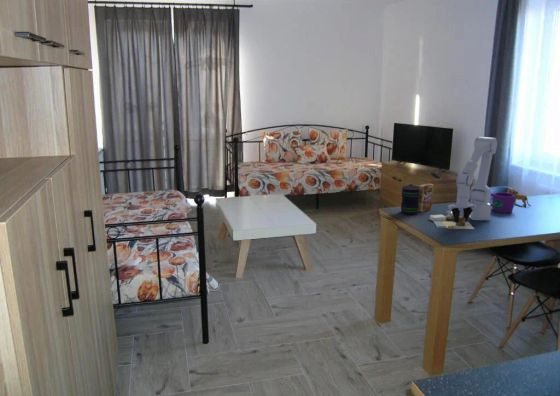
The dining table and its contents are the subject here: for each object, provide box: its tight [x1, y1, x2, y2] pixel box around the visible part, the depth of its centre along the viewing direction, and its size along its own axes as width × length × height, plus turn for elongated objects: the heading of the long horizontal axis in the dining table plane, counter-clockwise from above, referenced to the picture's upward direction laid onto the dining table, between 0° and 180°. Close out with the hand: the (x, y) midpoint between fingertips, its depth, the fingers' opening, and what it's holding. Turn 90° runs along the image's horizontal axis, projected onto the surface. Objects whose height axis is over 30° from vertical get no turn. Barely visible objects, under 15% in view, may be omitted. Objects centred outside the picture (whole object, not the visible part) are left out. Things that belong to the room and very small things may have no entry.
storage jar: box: [400, 185, 420, 217], centre depth 264 cm, size 10×10×15 cm
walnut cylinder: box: [456, 215, 466, 226], centre depth 242 cm, size 4×4×4 cm
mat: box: [432, 220, 475, 230], centre depth 243 cm, size 18×11×1 cm, turn 83°
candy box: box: [417, 182, 434, 213], centre depth 270 cm, size 9×4×15 cm, turn 123°
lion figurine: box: [506, 187, 531, 207], centre depth 281 cm, size 15×5×9 cm, turn 38°
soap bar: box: [429, 214, 447, 222], centre depth 253 cm, size 7×4×2 cm, turn 102°
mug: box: [490, 191, 515, 214], centre depth 269 cm, size 17×11×10 cm, turn 35°
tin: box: [444, 210, 454, 221], centre depth 256 cm, size 6×6×4 cm
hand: (460, 221), depth 243 cm, fingers closed on walnut cylinder, 4 cm apart
